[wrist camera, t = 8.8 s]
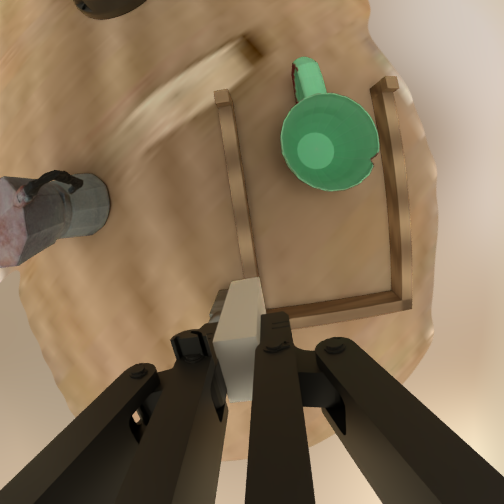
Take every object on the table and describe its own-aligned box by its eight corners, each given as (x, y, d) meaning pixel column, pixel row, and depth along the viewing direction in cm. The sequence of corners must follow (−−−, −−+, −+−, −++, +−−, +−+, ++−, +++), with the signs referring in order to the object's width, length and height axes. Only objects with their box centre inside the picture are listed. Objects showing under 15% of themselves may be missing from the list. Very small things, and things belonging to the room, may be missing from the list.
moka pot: (40, 206, 41) (-58, 227, 22) (108, 140, 39) (10, 122, 20) (70, 257, 43) (-23, 302, 23) (143, 196, 41) (53, 212, 21)
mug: (361, 180, 39) (390, 179, 29) (287, 198, 40) (295, 202, 30) (330, 73, 36) (348, 43, 26) (256, 88, 37) (254, 60, 27)
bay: (188, 110, 38) (163, 89, 28) (380, 88, 36) (411, 65, 26) (223, 324, 44) (212, 364, 34) (400, 298, 42) (432, 329, 32)
